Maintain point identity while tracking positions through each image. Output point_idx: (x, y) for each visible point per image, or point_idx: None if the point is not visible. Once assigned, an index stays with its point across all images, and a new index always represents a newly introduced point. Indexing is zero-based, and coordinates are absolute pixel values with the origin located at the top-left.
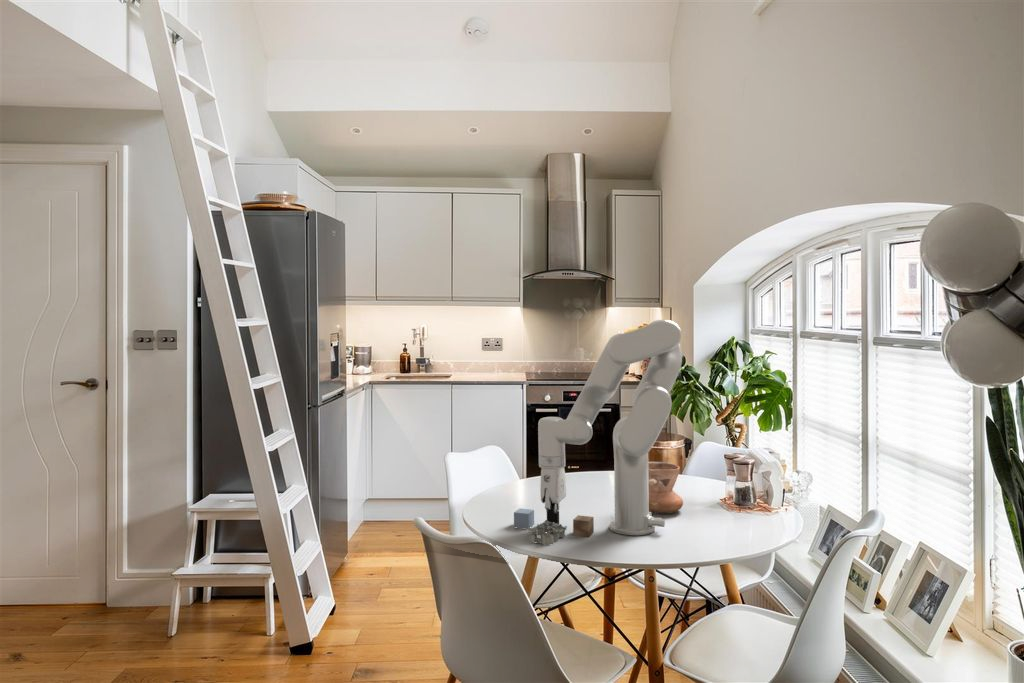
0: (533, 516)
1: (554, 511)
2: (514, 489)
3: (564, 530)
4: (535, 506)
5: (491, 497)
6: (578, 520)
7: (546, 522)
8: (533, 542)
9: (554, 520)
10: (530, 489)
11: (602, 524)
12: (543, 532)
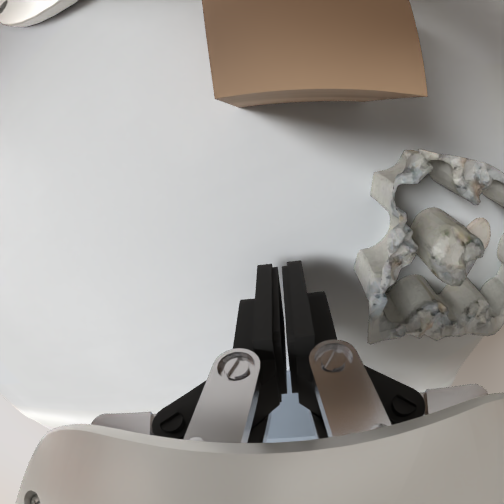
0: None
1: (354, 360)
2: (53, 424)
3: (437, 159)
4: (78, 397)
5: None
6: (417, 35)
7: (377, 327)
8: (501, 268)
9: (316, 304)
10: (28, 403)
11: (49, 64)
12: (425, 285)
